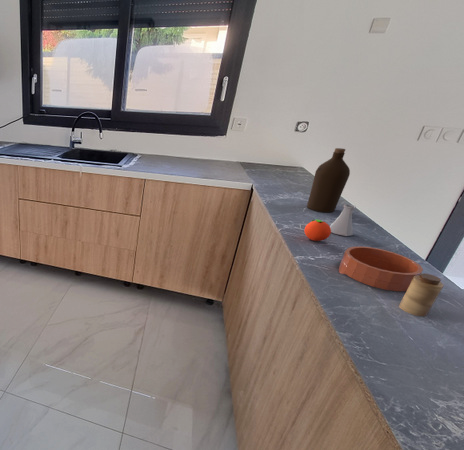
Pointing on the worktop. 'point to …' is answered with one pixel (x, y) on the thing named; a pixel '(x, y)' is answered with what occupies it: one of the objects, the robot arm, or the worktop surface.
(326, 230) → the clementine
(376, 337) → the worktop surface
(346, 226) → the flask
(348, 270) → the pot
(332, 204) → the olive oil
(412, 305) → the pepper mill
